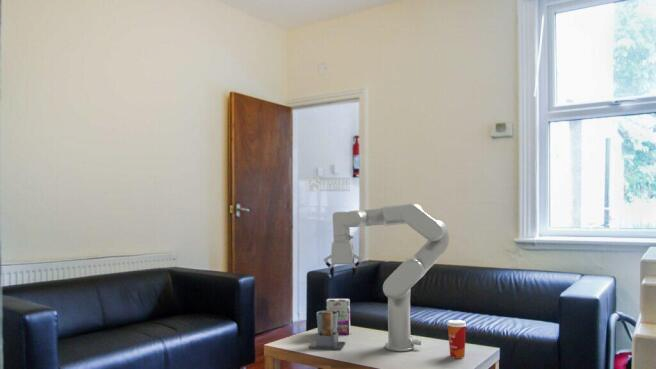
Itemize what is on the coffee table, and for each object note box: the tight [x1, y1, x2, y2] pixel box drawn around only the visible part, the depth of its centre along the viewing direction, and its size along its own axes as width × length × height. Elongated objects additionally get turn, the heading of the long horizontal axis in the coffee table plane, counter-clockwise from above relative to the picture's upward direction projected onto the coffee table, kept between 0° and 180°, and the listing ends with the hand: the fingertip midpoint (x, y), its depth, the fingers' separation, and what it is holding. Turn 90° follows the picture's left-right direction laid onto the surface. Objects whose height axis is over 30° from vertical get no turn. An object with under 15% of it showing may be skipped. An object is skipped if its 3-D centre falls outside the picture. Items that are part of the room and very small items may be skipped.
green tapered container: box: [316, 310, 338, 334], centre depth 231 cm, size 10×10×12 cm
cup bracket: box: [308, 331, 346, 351], centre depth 218 cm, size 14×10×6 cm
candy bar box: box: [325, 298, 351, 336], centre depth 241 cm, size 11×5×16 cm, turn 80°
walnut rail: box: [322, 310, 333, 336], centre depth 218 cm, size 4×4×14 cm
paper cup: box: [446, 319, 467, 359], centre depth 202 cm, size 8×8×14 cm
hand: (343, 276), depth 225 cm, fingers open, 9 cm apart
